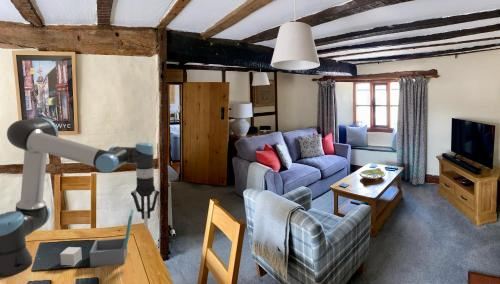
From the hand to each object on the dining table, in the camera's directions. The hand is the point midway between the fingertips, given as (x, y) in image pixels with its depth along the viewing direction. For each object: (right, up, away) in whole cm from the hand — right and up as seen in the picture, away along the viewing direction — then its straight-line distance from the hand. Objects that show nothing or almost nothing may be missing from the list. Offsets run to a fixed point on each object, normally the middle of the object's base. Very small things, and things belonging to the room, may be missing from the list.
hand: (146, 225), depth 149 cm
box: (-16, -15, -2) cm, 22 cm away
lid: (-8, -1, -2) cm, 8 cm away
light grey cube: (-32, -16, -6) cm, 36 cm away
